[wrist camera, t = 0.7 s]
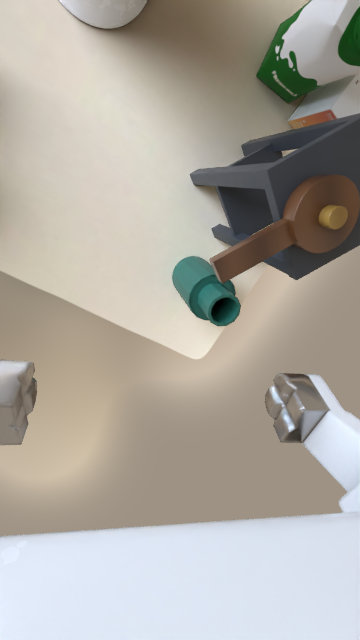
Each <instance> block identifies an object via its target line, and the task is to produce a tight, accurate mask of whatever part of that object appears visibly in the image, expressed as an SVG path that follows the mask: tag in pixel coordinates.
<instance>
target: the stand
mask: <svg viewBox="0 0 360 640" xmlns="http://www.w3.org/2000/svg"><path fill="white" fill-rule="evenodd" d="M298 148H299V149H298ZM242 149H243V153H244V156H246V157H244V158H242V159H240V160H238V161H237V162H235V163H233V164H231V165H229V166H228V167H217V168H206V169H198V170H196V171H194V172H193V173H191V174H190V176H191V179H192V181H193V184H194V185H207V186H215V188H216V190H217V193H218V196H219V199H220V201H221V204H222V207H223V210H224V212H225V215H226V218H227V221H228V223H229V226H230V228H229V227H226V226H223V225H221V224H219V225H217V226H215V227H214V228H212V231H213V234H214V236H215V238H217V239H219V240H221V241H223V242H225V243H227V244H229V245H231V246H234V245H236V244H237V243H239V242H241V241H243V240H245V239H246V238H248V237H250V235H252V234H254V233H256V232H258V231H259V230H261V229H263V228H265V227H267V226H268V225H270V224H272V223H275V222H277V221H279V220H281V219H282V218H283V212H284V208H285V205H286V203H287V200H288V198H289V197H290V195H291V194H292V192H293V191H294V190H295V188H296V187H297V186H298V185H299V184H301V183H302V182H303V181H305V180H306V179H308V178H310V177H313V176H316V175H342V176H345V177H347V178H349V179H350V180H351V181H352V182H353V183H354V184H355V186H356V188H357V190H358V193H359V197H360V113H358V114H354V115H350V116H346V117H342V118H338V119H334V120H330V121H326V122H322V123H318V124H314V125H310V126H306V127H302V128H298V129H294V130H290V131H286V132H282V133H278V134H274V135H270V136H266V137H262V138H258V139H254V140H250V141H249V142H247V143H245V144H243V145H242ZM291 149H297V150H295V151H293V152H292V153H290V154H288V155H286V156H284V157H283V156H282V151H284V150H291ZM359 245H360V209H359V215H358V218H357V221H356V224H355V226H354V228H353V229H352V231H351V233H350V234H349V235H348V237H347V238H346V239H345V240H344V241H343V242H342V243H341V244H340V245H339V246H337V247H336V248H334V249H332V250H330V251H328V252H325V253H311V252H308V251H305V250H302V249H299V248H297V247H295V246H293V245H291V246H289V247H287V248H285V249H284V250H282V251H280V252H278V253H276V254H275V255H273V256H271V257H269V258H267V259H266V260H264V261H263V262H264V263H266V264H268V265H270V266H272V267H274V268H276V269H279V270H280V271H282V272H284V273H286V274H288V275H289V277H291V278H293V279H295V280H298V279H300V278H302V277H303V276H305V275H307V274H309V273H310V272H312V271H314V270H316V269H318V268H320V267H321V266H323V265H325V264H327V263H329V262H330V261H332V260H334V259H336V258H337V257H339V256H341V255H343V254H345V253H346V252H348V251H350V250H352V249H354V248H355V247H357V246H359Z"/></svg>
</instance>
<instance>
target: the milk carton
mask: <svg viewBox="0 0 360 640" xmlns="http://www.w3.org/2000/svg"><path fill="white" fill-rule="evenodd" d="M357 74H360V0H310V1H309V2H308V3H307V4H306V5H304V6H303V7H302V8H301V9H300V10H299V11H297V12H296V13H295V14H294V15H293V16H292V17H290V18H289V19H287V20H286V21H284V22H283V23H281V24H280V26H279V28H278V31H277V33H276V35H275V37H274V39H273V41H272V43H271V45H270V48H269V50H268V52H267V54H266V56H265V58H264V60H263V62H262V65H261V67H260V69H259V71H258V73H257V75H256V77H258V78H259V79H260V80H261V81H262V82H263V83H265V84H266V85H267V86H268V87H269V88H271V89H272V90H273V91H274V92H275V93H276V94H278V95H279V96H280V97H281V98H282V99H283V100H285V101H286V102H287V103H289V102H291V101H293V100H295V99H297V98H299V97H301V96H303V95H305V94H307V93H309V92H311V91H313V90H315V89H318V88H320V87H323V86H325V85H328V84H330V83H332V82H335V81H337V80H340V79H342V78H345V77H347V76H350V75H357Z"/></svg>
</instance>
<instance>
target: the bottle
mask: <svg viewBox="0 0 360 640" xmlns="http://www.w3.org/2000/svg"><path fill="white" fill-rule="evenodd" d="M172 279H173V284H174V286H175V288H176V290H177V291H178V293H179V294H180V295H181V297H182V298H183V300H184V301H185V303H186V304H187V305H188V307H189V308H190V310H191V311H192V312H193V313H194V314H195V315H196V316H197V317H198V318H201V319H203V320H210V322H211V323H213V324H215V325H217V326H227V325H228V324H230V323H232V322H234V321H235V319H236V318H237V316H238V315H239V312H240V307H241V305H240V303H239V300H238V298H237V297H235V294H236V293H235V289H234V285H233V283H232V282H231V281H230V280H228V281H226V282H224V283H221V282H220V281H219V280H218V278H217V276H216V274H215V271H214V269H213V267H212V265H210V264H209V263H208V262H207V261H205V260H203V259H202V258H199V257H195V256H192V257H187V258H185V259H183V260H181V261H180V262H179V263H178V264H177V265H176V267H175V269H174V271H173V276H172Z"/></svg>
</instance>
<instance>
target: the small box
mask: <svg viewBox="0 0 360 640" xmlns="http://www.w3.org/2000/svg"><path fill="white" fill-rule="evenodd" d="M358 113H360V74H357V75H350V76H347V77H345V78H342V79H340V80H337V81H335V82H332V83H330V84H328V85H325V86H323V87H320V88H318V89H315V90H313V91H311V92H309V93H308V94H307V95H306V96H305V98H304V99H303V100H302V102H301V103H300V105H299V106H298V107H297V109H296V110H295V111H294V113H293V114H292V115H291V117H290V118H289V119H288V123H289V124H290V125H291V126H292V128H293V129H298V128H302V127H306V126H310V125H314V124H318V123H322V122H326V121H330V120H334V119H338V118H342V117H346V116H350V115H354V114H358Z"/></svg>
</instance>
